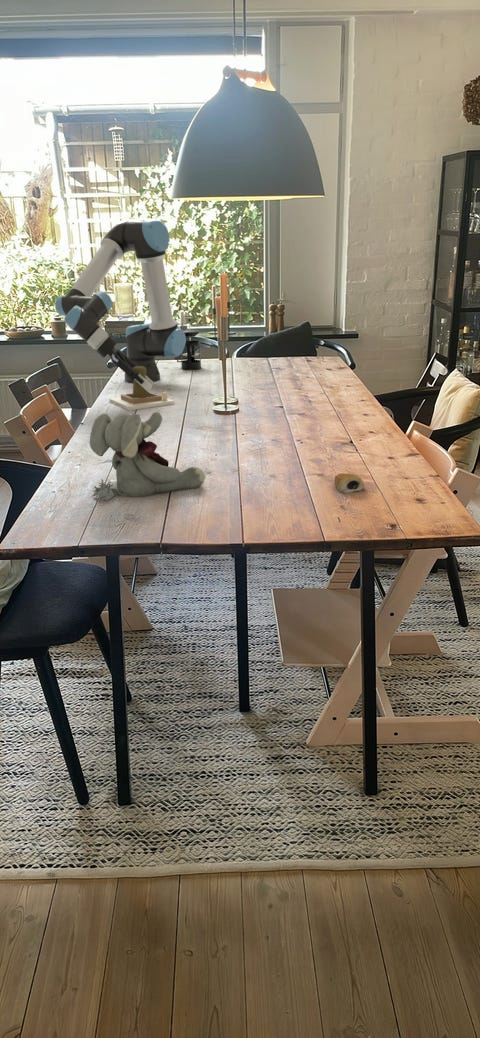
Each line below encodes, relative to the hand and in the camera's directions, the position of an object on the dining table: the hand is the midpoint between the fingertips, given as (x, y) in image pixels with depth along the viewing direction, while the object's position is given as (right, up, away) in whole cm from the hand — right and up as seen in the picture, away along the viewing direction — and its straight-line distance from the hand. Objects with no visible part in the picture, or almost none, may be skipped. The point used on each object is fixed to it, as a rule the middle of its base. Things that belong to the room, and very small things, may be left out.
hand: (150, 387), depth 283 cm
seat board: (-4, -6, +2) cm, 7 cm away
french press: (+10, +21, +71) cm, 75 cm away
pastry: (+59, -41, -95) cm, 119 cm away
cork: (-4, -3, +1) cm, 5 cm away
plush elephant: (+8, -41, -93) cm, 102 cm away
